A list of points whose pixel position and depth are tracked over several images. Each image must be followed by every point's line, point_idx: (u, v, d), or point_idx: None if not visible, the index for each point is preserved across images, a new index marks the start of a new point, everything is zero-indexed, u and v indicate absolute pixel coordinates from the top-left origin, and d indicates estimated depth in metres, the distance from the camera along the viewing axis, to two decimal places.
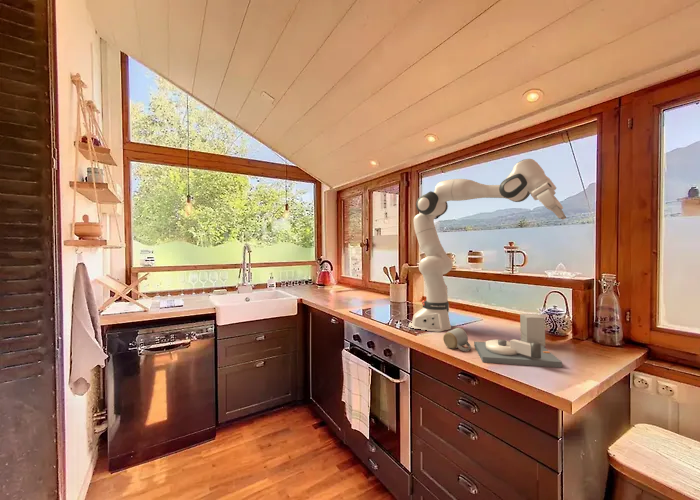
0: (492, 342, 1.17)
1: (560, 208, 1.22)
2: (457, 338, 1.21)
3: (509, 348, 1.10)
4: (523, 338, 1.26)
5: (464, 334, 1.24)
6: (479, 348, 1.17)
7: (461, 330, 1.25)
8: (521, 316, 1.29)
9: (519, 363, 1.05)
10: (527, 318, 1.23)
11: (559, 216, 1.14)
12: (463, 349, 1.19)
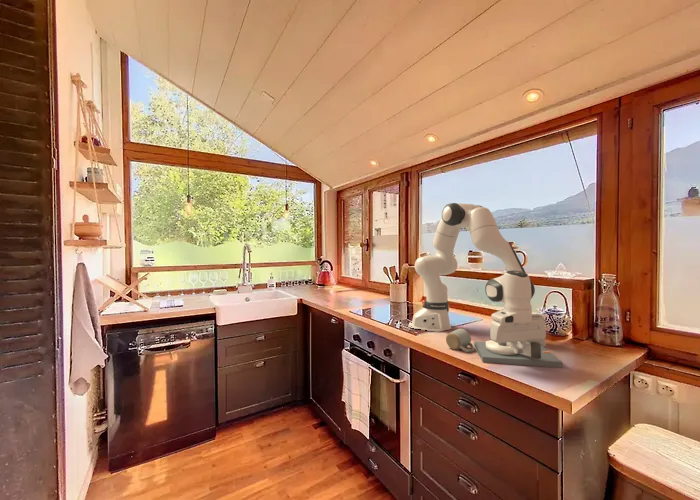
0: (492, 342, 1.17)
1: (522, 340, 1.05)
2: (460, 339, 1.20)
3: (509, 348, 1.10)
4: None
5: (467, 335, 1.22)
6: (479, 348, 1.17)
7: (464, 331, 1.24)
8: None
9: (519, 363, 1.05)
10: None
11: (514, 351, 1.06)
12: (466, 350, 1.18)
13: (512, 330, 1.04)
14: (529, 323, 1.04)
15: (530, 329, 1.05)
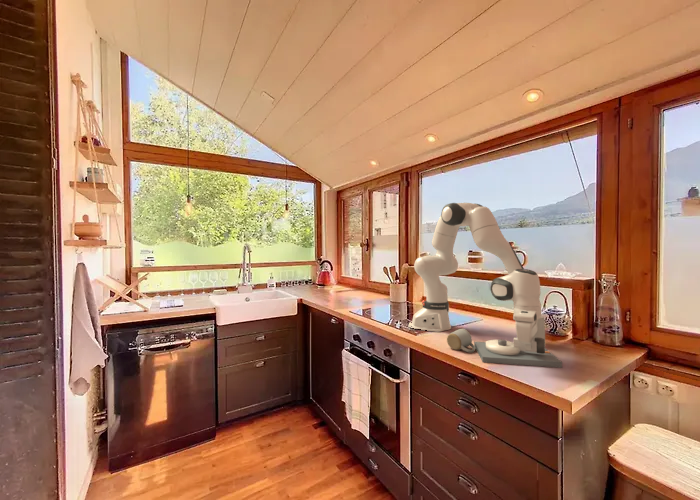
0: (492, 344, 1.15)
1: None
2: (461, 339, 1.19)
3: (514, 347, 1.11)
4: None
5: (468, 335, 1.22)
6: (479, 348, 1.17)
7: (465, 331, 1.24)
8: None
9: (519, 363, 1.05)
10: None
11: (527, 348, 1.07)
12: (467, 350, 1.18)
13: None
14: None
15: (534, 324, 1.10)
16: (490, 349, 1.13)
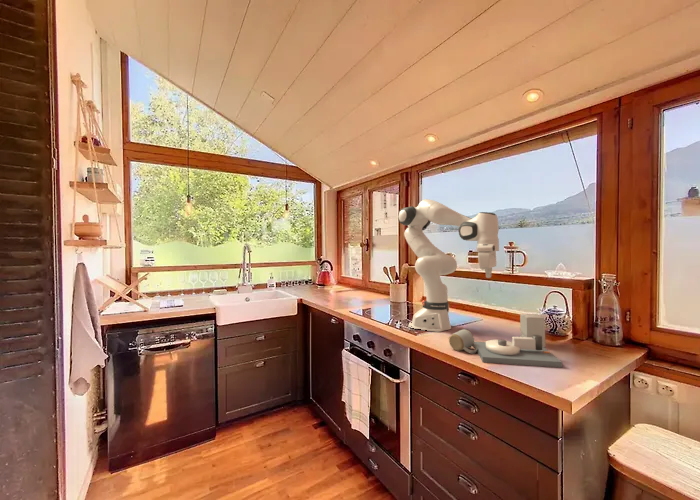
0: (493, 345, 1.14)
1: (491, 267, 1.31)
2: (463, 340, 1.18)
3: (515, 346, 1.12)
4: None
5: (470, 336, 1.21)
6: (479, 348, 1.17)
7: (467, 332, 1.22)
8: (521, 316, 1.29)
9: (519, 363, 1.05)
10: (527, 318, 1.23)
11: (487, 276, 1.30)
12: (470, 351, 1.17)
13: (490, 258, 1.27)
14: None
15: (493, 258, 1.33)
16: (494, 350, 1.11)
